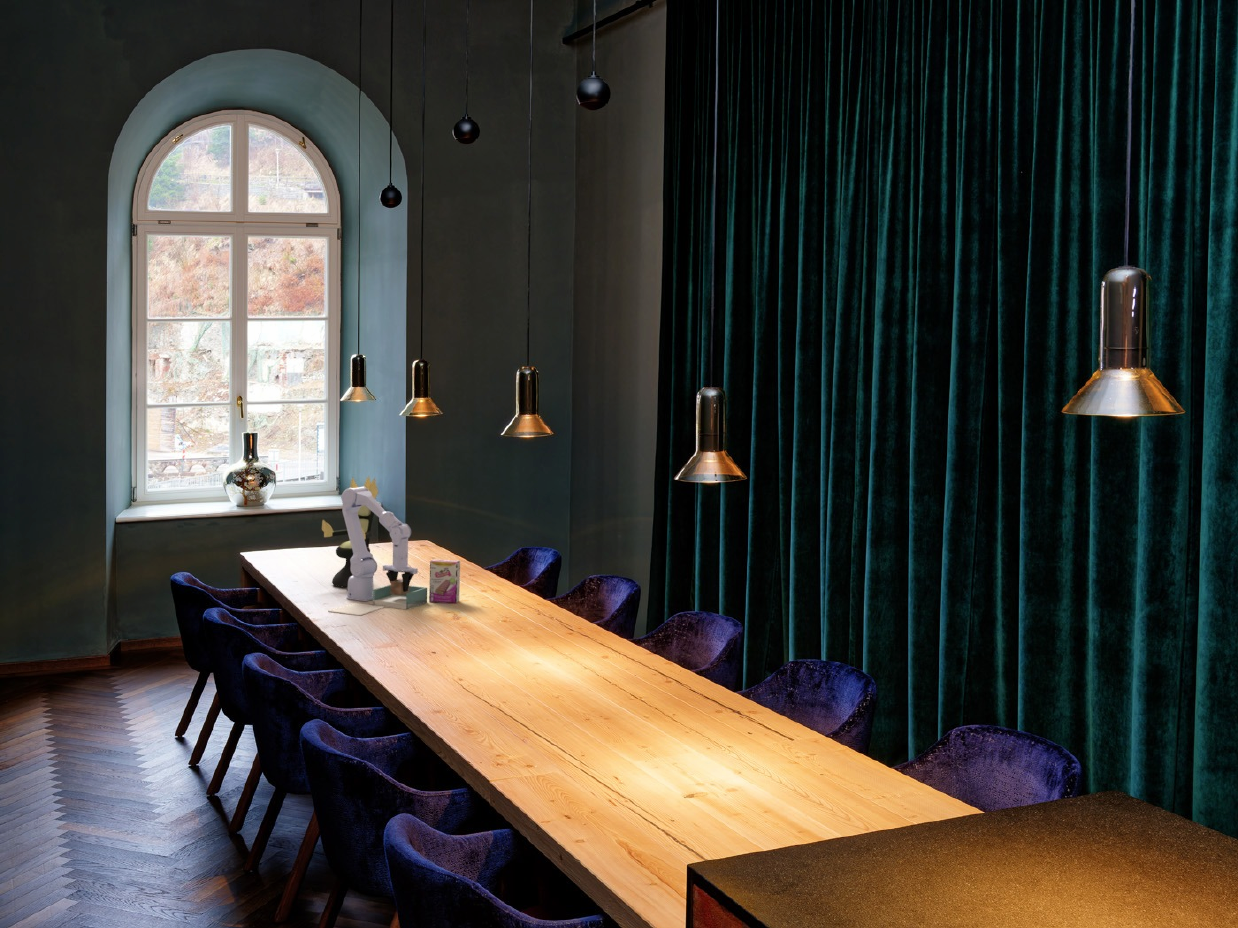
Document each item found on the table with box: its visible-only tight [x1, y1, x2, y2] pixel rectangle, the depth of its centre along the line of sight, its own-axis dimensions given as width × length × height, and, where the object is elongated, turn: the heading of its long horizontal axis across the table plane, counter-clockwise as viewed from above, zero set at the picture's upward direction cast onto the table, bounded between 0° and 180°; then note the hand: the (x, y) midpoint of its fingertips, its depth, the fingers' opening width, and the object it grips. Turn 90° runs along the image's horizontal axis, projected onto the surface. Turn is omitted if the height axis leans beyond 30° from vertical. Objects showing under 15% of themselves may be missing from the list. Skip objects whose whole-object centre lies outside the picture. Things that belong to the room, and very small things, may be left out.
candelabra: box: [321, 475, 379, 589], centre depth 496 cm, size 19×22×45 cm
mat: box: [328, 602, 385, 617], centre depth 449 cm, size 14×16×1 cm
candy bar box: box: [428, 558, 461, 604], centre depth 467 cm, size 11×5×16 cm, turn 84°
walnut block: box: [390, 578, 409, 595], centre depth 461 cm, size 4×6×5 cm
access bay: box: [372, 584, 428, 610], centre depth 461 cm, size 16×14×6 cm
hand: (399, 590), depth 461 cm, fingers closed on walnut block, 4 cm apart
